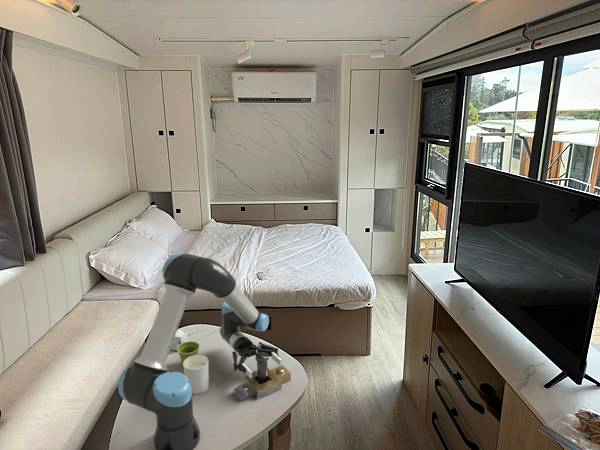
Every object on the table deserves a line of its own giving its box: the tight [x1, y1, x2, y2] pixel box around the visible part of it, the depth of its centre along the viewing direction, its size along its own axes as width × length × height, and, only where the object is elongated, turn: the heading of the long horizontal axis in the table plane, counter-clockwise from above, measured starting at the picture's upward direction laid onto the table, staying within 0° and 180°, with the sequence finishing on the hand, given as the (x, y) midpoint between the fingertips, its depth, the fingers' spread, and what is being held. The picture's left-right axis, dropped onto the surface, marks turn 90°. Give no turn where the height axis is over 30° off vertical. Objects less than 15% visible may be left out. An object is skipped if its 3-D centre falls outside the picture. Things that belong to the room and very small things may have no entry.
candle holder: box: [182, 354, 209, 396], centre depth 166 cm, size 10×10×12 cm
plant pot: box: [176, 340, 200, 366], centre depth 182 cm, size 9×9×9 cm
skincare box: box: [170, 329, 189, 351], centre depth 195 cm, size 6×6×7 cm
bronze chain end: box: [243, 364, 292, 395], centre depth 170 cm, size 17×11×4 cm, turn 125°
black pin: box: [254, 352, 270, 384], centre depth 167 cm, size 5×5×14 cm
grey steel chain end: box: [232, 380, 282, 403], centre depth 167 cm, size 17×11×3 cm, turn 125°
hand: (266, 368), depth 164 cm, fingers open, 13 cm apart
